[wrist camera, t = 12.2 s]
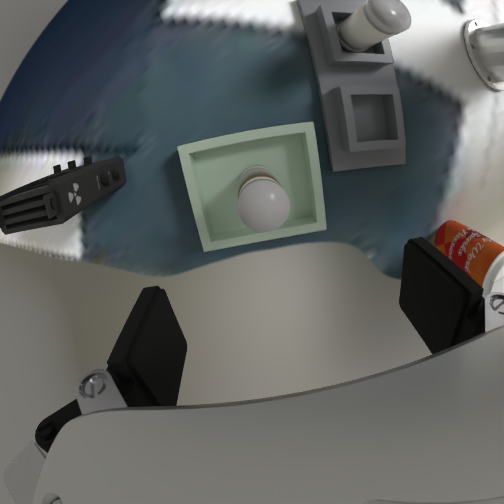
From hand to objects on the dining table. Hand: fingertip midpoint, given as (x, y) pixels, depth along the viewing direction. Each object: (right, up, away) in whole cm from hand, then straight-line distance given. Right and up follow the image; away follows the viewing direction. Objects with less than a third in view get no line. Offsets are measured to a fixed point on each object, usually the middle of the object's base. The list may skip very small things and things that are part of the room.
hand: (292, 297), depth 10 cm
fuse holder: (+11, +22, +16) cm, 29 cm away
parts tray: (-1, +9, +21) cm, 23 cm away
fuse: (+10, +26, +13) cm, 30 cm away
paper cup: (+29, +4, +25) cm, 38 cm away
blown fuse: (-1, +9, +21) cm, 23 cm away
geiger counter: (-21, +12, +20) cm, 31 cm away
